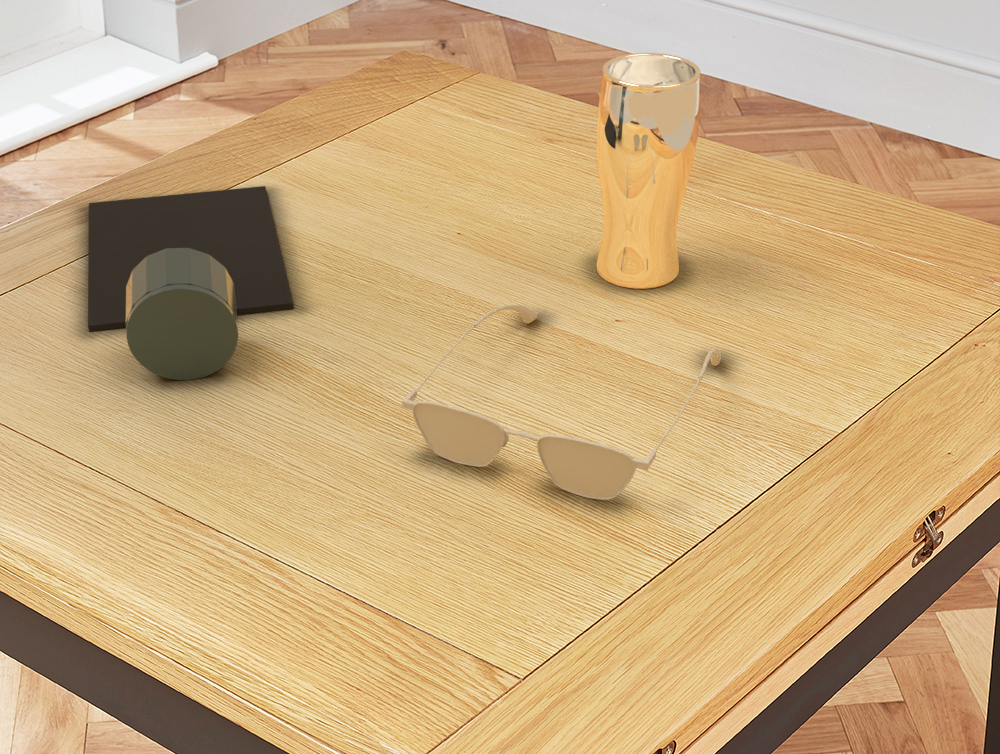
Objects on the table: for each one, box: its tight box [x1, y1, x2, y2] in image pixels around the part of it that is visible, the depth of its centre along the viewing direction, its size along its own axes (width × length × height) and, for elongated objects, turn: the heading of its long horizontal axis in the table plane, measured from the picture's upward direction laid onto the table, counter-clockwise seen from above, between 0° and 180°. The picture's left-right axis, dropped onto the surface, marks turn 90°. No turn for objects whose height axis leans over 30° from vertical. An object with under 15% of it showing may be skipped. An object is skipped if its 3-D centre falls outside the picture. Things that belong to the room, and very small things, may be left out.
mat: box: [87, 185, 295, 333], centre depth 101 cm, size 20×14×1 cm
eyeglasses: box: [401, 304, 722, 501], centre depth 84 cm, size 15×18×4 cm
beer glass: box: [596, 52, 701, 290], centre depth 95 cm, size 7×7×15 cm
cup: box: [125, 248, 239, 381], centre depth 87 cm, size 7×7×5 cm
